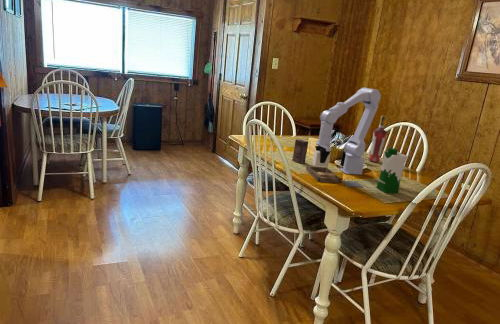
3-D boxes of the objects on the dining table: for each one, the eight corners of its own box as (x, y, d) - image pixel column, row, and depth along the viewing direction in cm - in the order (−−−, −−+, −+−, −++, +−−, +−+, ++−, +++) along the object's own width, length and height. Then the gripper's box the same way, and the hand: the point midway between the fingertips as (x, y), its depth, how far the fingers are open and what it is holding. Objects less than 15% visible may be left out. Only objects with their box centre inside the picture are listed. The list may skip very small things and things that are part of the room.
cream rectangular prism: (325, 164, 186) (327, 151, 184) (328, 166, 182) (330, 153, 180) (312, 163, 185) (314, 150, 183) (314, 166, 181) (317, 152, 179)
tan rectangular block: (331, 178, 178) (332, 172, 177) (334, 181, 174) (335, 175, 174) (316, 177, 177) (317, 171, 176) (318, 180, 173) (320, 174, 172)
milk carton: (373, 187, 172) (382, 146, 167) (389, 187, 175) (398, 147, 169) (384, 194, 164) (394, 151, 159) (401, 194, 167) (411, 152, 161)
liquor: (367, 158, 227) (376, 114, 219) (379, 160, 225) (389, 116, 217) (367, 161, 220) (377, 115, 212) (380, 163, 218) (390, 117, 211)
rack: (326, 170, 189) (326, 167, 189) (339, 182, 172) (340, 178, 172) (305, 169, 187) (306, 165, 187) (318, 181, 170) (318, 177, 170)
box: (305, 162, 200) (308, 141, 197) (299, 163, 197) (303, 142, 194) (297, 159, 205) (300, 138, 201) (291, 160, 202) (295, 139, 199)
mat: (356, 182, 176) (356, 181, 176) (363, 187, 170) (363, 186, 169) (341, 181, 175) (341, 180, 174) (347, 186, 168) (347, 185, 168)
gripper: (312, 131, 185) (308, 157, 189) (322, 138, 172) (318, 165, 175) (325, 132, 187) (321, 157, 190) (336, 139, 173) (331, 166, 177)
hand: (320, 161), depth 183 cm, fingers closed on cream rectangular prism, 4 cm apart
